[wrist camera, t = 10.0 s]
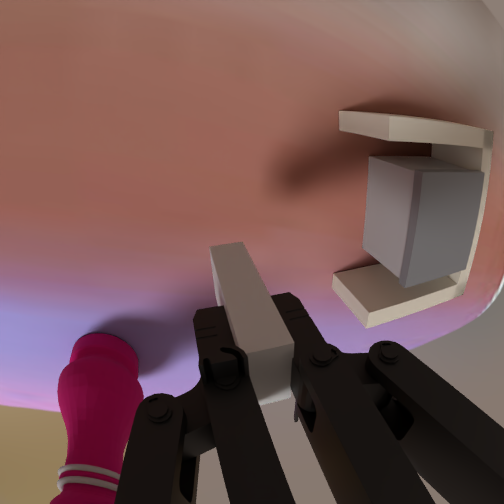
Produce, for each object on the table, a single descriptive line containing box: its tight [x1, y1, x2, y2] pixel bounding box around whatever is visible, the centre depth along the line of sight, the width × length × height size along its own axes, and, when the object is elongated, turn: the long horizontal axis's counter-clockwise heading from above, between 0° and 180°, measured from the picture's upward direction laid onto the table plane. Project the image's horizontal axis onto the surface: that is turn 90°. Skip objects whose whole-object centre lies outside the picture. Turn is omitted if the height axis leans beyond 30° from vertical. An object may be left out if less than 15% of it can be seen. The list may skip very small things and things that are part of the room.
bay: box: [332, 111, 493, 329], centre depth 22 cm, size 15×12×6 cm
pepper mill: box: [50, 333, 144, 504], centre depth 16 cm, size 7×7×20 cm
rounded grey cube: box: [362, 156, 485, 288], centre depth 22 cm, size 8×7×7 cm
